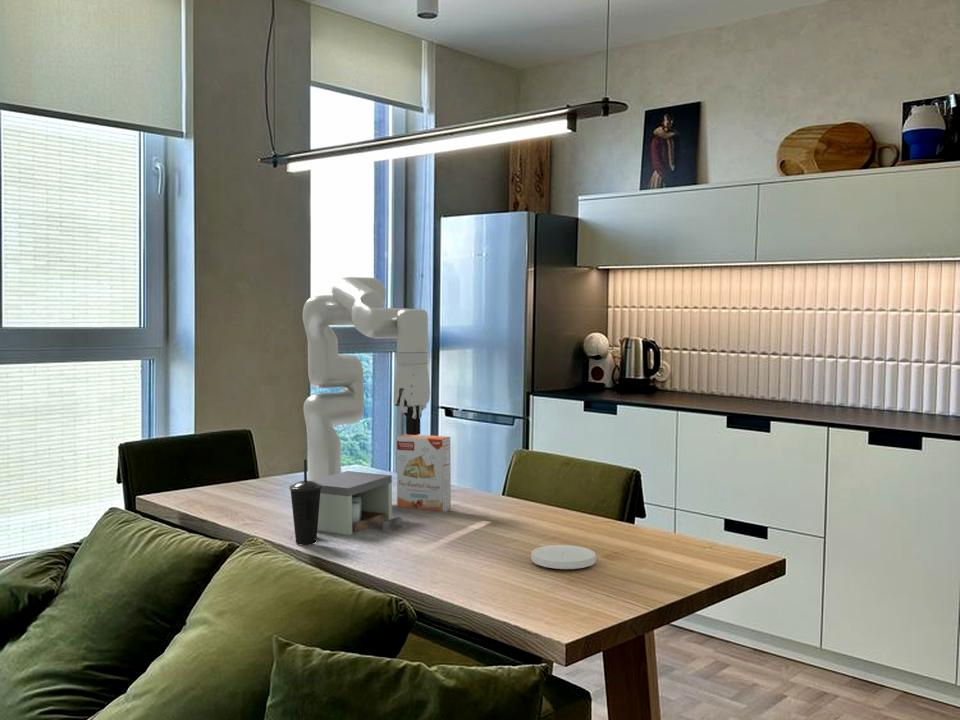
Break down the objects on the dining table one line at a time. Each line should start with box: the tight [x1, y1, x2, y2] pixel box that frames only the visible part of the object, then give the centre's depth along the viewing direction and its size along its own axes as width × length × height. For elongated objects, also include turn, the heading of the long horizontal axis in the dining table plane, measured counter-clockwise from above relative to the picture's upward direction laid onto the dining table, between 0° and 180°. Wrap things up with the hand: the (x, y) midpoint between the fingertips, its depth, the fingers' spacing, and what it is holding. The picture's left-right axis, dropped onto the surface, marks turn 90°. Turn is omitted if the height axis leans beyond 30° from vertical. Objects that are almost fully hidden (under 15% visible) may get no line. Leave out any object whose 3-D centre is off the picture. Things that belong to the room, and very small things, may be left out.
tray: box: [352, 511, 403, 534], centre depth 227 cm, size 14×19×3 cm
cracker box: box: [396, 433, 452, 513], centre depth 248 cm, size 14×6×21 cm, turn 68°
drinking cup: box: [288, 459, 322, 546], centre depth 214 cm, size 8×8×20 cm
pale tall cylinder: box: [352, 495, 362, 521], centre depth 233 cm, size 5×5×6 cm
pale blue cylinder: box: [352, 501, 360, 524], centre depth 225 cm, size 5×5×6 cm
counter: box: [312, 470, 393, 536], centre depth 227 cm, size 19×25×12 cm
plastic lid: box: [530, 544, 597, 570], centre depth 197 cm, size 14×14×2 cm
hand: (413, 434), depth 220 cm, fingers closed
